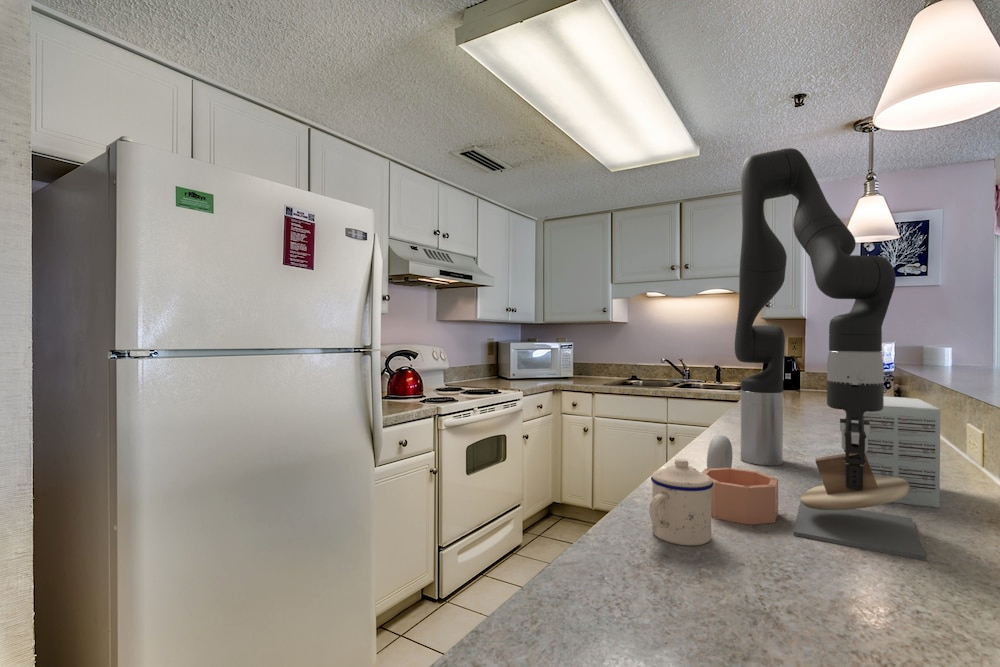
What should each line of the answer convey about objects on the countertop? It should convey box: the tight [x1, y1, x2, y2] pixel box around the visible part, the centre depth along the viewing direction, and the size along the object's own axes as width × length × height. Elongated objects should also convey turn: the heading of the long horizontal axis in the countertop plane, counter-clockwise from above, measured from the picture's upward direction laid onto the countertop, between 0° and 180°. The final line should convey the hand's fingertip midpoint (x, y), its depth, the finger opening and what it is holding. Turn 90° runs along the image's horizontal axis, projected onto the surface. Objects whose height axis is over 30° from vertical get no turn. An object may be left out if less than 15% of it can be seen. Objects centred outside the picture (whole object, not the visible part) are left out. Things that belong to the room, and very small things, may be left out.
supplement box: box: [844, 396, 941, 509], centre depth 103 cm, size 17×13×18 cm
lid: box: [800, 453, 911, 510], centre depth 84 cm, size 15×15×6 cm
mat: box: [792, 499, 927, 561], centre depth 83 cm, size 18×16×1 cm
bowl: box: [700, 467, 779, 526], centre depth 91 cm, size 12×12×6 cm
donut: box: [706, 434, 733, 469], centre depth 108 cm, size 10×4×10 cm, turn 143°
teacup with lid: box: [649, 458, 713, 546], centre depth 79 cm, size 12×9×12 cm
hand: (854, 486), depth 83 cm, fingers closed on lid
